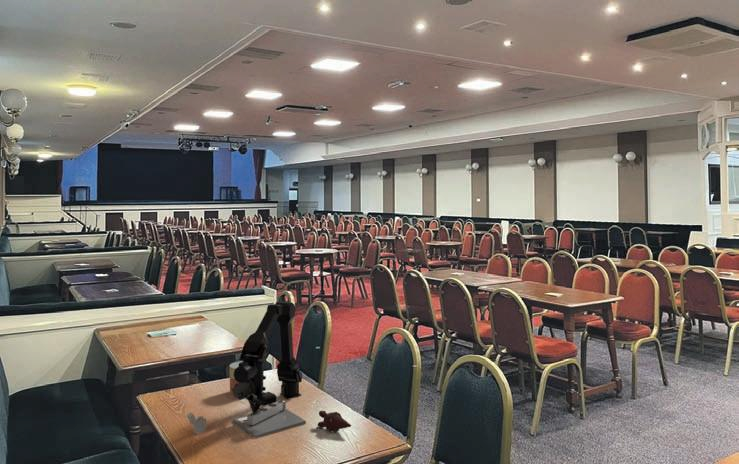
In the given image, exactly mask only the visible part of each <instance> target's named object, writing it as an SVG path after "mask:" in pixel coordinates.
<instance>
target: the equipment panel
mask: <svg viewBox="0 0 739 464" xmlns="http://www.w3.org/2000/svg"><path fill="white" fill-rule="evenodd" d="M249 414H250V413H248V414H244V415H242V416H236V417H234V418H232V419H231V421H232V423H234V424H235V425H236V426H238V427H239V426H240V427H239V428H240V429H242V430H243V429H244V430H243V431H244V432H246V431H247V432H248V434H249V435H250V434H251V435H252V436H251V435H250V436H251V437H253V438H254V437H255V438H254V439H258V438H260V436H262V437H265V436H268V435H271V434H275V433H279V432H281V431H285V430H289V429H292V428H295V427H298V426H302V425H305V424H306V423H307V421H306V420H305V419H304V418H302V417H301V416H299V415H297V414H295V413H294V412H292V411H290V410H288V409H287V408H286V409H285V410H282V411H280V412H278V413H276V414H274V415H272V416H270V417H268V418H266V419H264V420H262V421H260V422H258V423H256V424H254V425H250V424H247V415H249ZM247 432H246V433H247ZM264 435H265V436H264ZM257 437H258V438H257Z"/></svg>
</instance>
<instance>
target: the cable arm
mask: <svg viewBox="0 0 739 464" xmlns="http://www.w3.org/2000/svg"><path fill="white" fill-rule="evenodd" d="M286 406H287V405H286V400H285V399H278V400H277V401H276V402H275V403H271V404H268V405H265V406H263V407H260V408H259V410H257V411H255V412H253V413H252V412H251V413H248V414H249V415H248V414H246V415H247V424H250V425H254V424H256V423H258V422H260V421H262V420H264V419H266V418H268V417H270V416H272V415H274V414H276V413H278V412H280V411H282V410H285V409H287V408H286Z"/></svg>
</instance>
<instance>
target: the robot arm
mask: <svg viewBox="0 0 739 464" xmlns="http://www.w3.org/2000/svg"><path fill="white" fill-rule="evenodd" d="M296 311H297V307H296V305H295V303H294V302H290V301H276V303H271V304H268V305H267V307H266V312H265V313H264V315H263V318H262V320H261V321H260V323H259V325H258V327H257V328H256V330H255V332H253V333H252V334H250V335H249V336H248V338H246V341H245V342H244V343H243V347H242V349H241V352H240V356H239V361H243V362H240V363H239V367H237V368H236V369H235V371H234V378H235V380H236V381H237V382H239V383H236V385H235V386H234V388H233V389H232V391H233V394H234V397H235V399H237V400H239V401H242V400H244V399H245V400H247V401H248V404H249V406H250V410H251V413H253V412H255V411H257V410H259V409H260V408H261V406H263V407H266V406H268V405H269V404H271V403H275V402H276V401H278V400H277V398H278V396H277V395H276V394H275V393H273V392H271V391H266V387H265V386H264V380H266V379H267V376H266V375H264V365H265V359H267V356H266V352H267V350H268V347H269V342H268V341H269V340H268V338H269V337H270V334H271V332H272V330H273V328H274V327H275V324H276V322H277V324H278V325H279V340H280V344H279V345H280V357H281V358H280V360H279V362H278V364H277V366H276V369H277V370H276V374H277V375H276V376H277V380H278V382H281V385H280V393H279V395H280V396H281V397H283V398H285V399H287V400H289V399H293V398H296V397H301V396H302V394H301V393H300V383H301V382H302V380H303V375H304V374H303V373H302V372H301V370H300V368H299V363H298V361H297V360H296V358H295V356H294V344H293V343H294V342H293V328H292V327H293V324H292V322H293V320H294V319H295V317H296ZM265 391H266V392H265ZM234 397H233V398H234Z"/></svg>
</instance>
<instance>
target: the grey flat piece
mask: <svg viewBox="0 0 739 464" xmlns="http://www.w3.org/2000/svg"><path fill="white" fill-rule="evenodd" d="M186 418H187V419H188V422H189V423H190V425H193V434H195V435H199V434H201V433H204V432H205V431H206V430H207V427H206V425H207V421H206V417H204V416H203V415H199V416H196V417H195V415H194V413H193V412H188V413H187V415H186Z"/></svg>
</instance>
